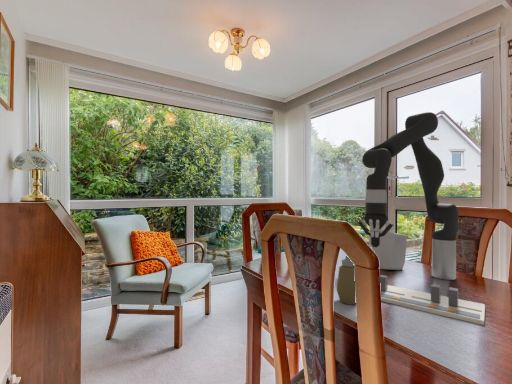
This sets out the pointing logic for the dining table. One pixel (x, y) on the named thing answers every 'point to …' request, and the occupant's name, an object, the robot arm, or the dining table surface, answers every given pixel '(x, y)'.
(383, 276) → the slider
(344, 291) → the squeeze bottle
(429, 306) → the switch panel
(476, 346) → the dining table surface
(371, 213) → the robot arm
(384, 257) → the electrical switch box
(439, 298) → the slider middle
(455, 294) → the slider
